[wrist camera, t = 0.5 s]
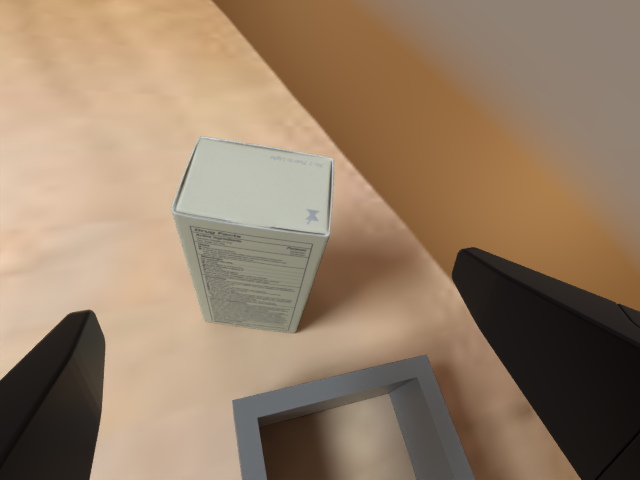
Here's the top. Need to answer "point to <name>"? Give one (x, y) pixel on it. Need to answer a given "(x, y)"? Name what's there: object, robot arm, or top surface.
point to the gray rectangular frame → (394, 378)
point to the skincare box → (253, 230)
